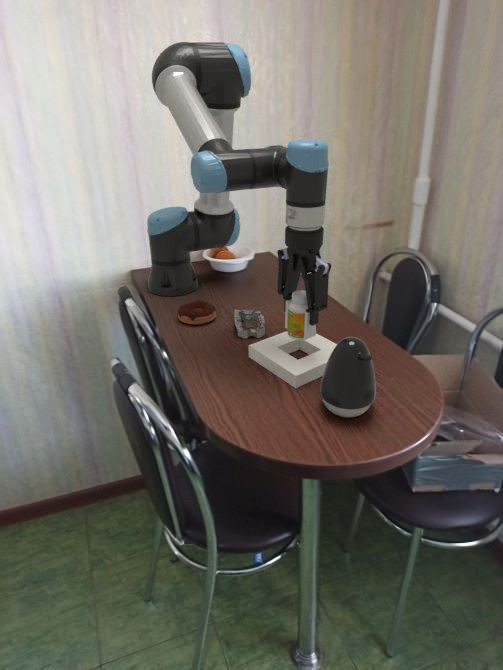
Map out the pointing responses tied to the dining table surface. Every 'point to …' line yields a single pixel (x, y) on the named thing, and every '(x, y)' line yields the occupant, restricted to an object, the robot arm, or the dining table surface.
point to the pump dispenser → (349, 379)
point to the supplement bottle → (297, 315)
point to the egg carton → (249, 323)
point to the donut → (196, 313)
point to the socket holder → (285, 366)
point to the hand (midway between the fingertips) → (300, 331)
